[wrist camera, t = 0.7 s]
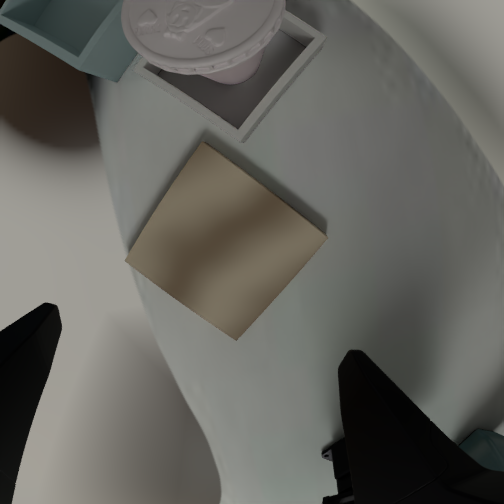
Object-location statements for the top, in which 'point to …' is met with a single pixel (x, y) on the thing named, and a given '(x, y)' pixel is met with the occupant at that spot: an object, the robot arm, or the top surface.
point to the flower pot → (485, 449)
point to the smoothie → (203, 35)
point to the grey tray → (313, 47)
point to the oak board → (223, 242)
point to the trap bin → (74, 32)
